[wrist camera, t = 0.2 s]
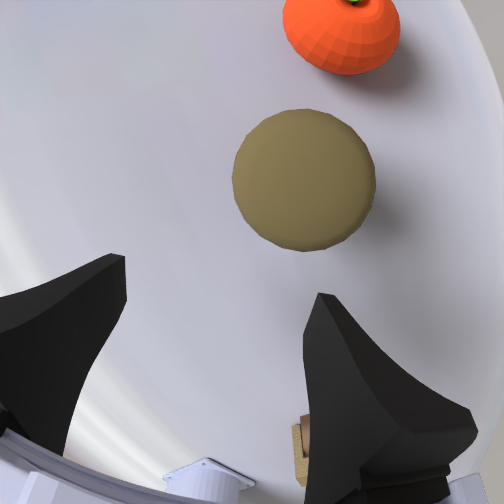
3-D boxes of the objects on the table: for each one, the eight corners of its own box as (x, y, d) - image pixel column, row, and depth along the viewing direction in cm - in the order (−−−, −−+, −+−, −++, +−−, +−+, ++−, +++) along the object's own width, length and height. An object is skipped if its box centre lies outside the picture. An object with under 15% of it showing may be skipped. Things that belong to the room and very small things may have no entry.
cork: (333, 127, 19) (404, 102, 8) (328, 216, 21) (388, 278, 10) (240, 122, 19) (215, 86, 8) (238, 212, 21) (213, 273, 10)
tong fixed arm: (300, 416, 26) (303, 450, 22) (309, 413, 26) (314, 447, 22) (337, 487, 31) (341, 512, 27) (345, 485, 31) (349, 510, 27)
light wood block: (291, 426, 26) (295, 478, 20) (336, 413, 26) (348, 464, 20) (297, 437, 27) (302, 486, 21) (340, 424, 26) (352, 473, 20)
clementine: (257, 3, 16) (255, -53, 9) (345, -16, 15) (372, -67, 8) (303, 97, 18) (323, 69, 12) (392, 73, 17) (443, 46, 11)
